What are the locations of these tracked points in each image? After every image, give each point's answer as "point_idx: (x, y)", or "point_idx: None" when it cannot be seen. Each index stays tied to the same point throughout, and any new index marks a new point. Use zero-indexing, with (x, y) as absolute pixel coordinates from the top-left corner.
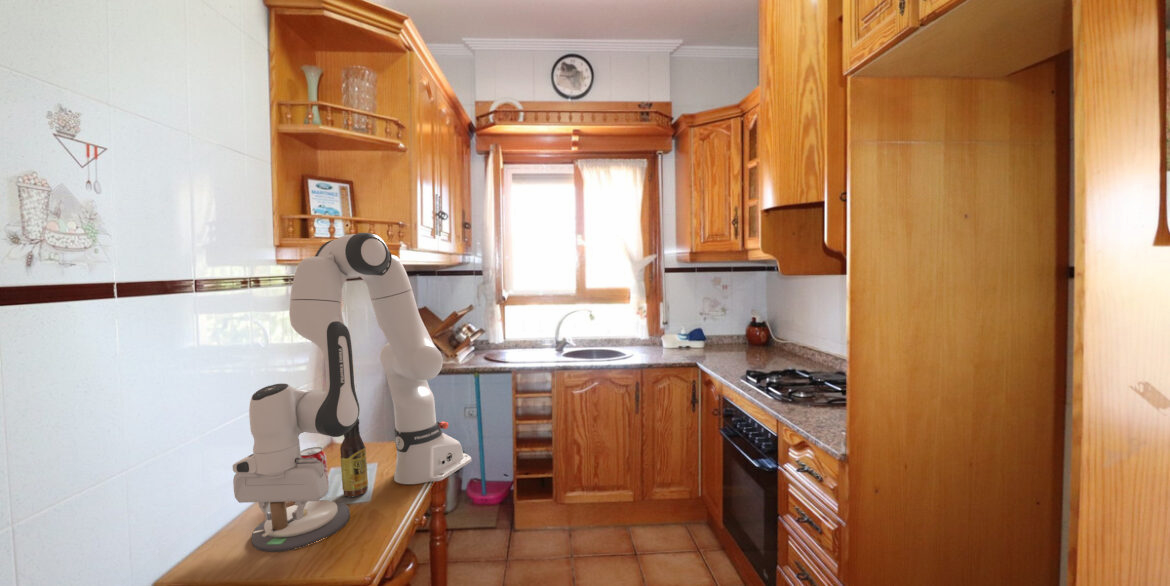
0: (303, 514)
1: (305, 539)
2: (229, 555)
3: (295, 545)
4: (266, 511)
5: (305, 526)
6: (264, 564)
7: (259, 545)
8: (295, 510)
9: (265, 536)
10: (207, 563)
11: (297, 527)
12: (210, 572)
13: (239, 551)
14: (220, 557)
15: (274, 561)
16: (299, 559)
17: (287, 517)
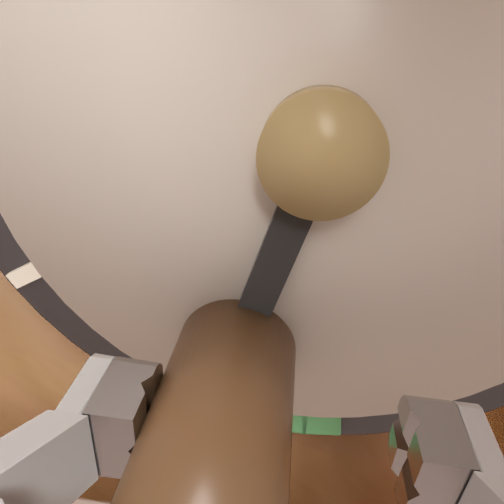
0: (484, 418)
1: (489, 407)
2: (50, 386)
3: None
4: (77, 490)
5: (475, 371)
6: (310, 477)
7: None
8: (417, 486)
9: None
10: (5, 427)
11: (404, 373)
12: None
13: (71, 361)
14: (19, 394)
15: (349, 466)
16: None
17: (178, 181)
